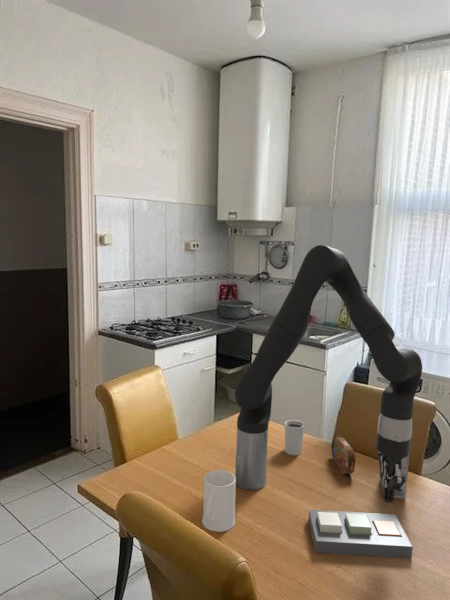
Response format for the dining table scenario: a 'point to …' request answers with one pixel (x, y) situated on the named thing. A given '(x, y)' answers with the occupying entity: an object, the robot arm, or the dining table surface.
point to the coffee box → (404, 472)
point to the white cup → (293, 437)
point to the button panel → (360, 538)
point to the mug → (219, 500)
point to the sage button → (357, 524)
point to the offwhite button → (328, 522)
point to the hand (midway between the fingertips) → (387, 500)
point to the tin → (343, 455)
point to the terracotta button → (386, 528)
